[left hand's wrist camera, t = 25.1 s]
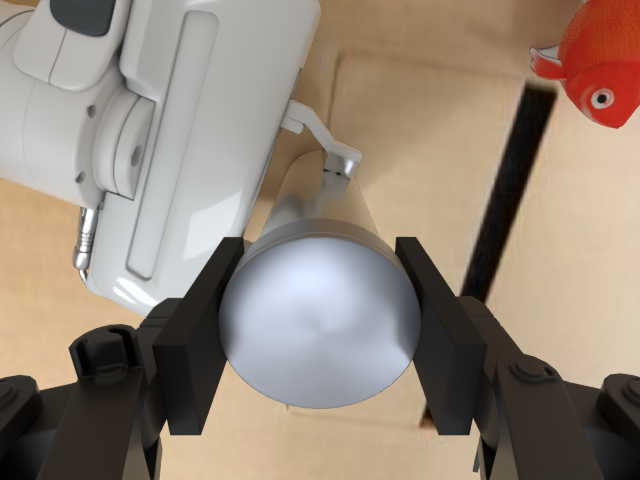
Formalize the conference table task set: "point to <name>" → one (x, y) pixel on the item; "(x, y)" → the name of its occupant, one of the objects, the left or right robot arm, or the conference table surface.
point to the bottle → (318, 196)
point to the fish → (598, 60)
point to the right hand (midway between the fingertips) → (334, 217)
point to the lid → (319, 315)
